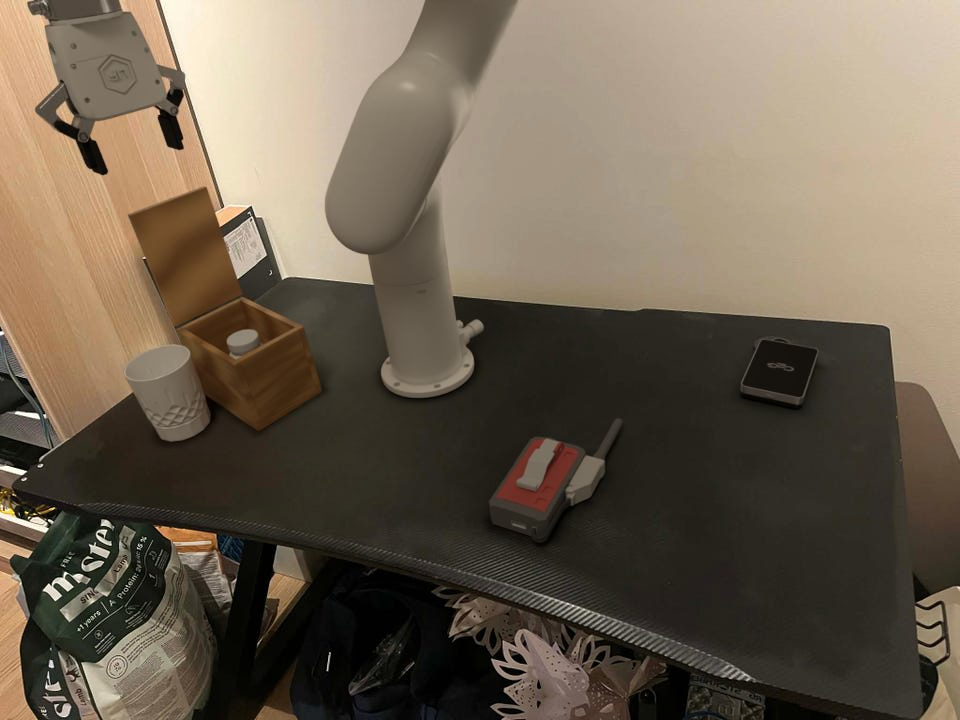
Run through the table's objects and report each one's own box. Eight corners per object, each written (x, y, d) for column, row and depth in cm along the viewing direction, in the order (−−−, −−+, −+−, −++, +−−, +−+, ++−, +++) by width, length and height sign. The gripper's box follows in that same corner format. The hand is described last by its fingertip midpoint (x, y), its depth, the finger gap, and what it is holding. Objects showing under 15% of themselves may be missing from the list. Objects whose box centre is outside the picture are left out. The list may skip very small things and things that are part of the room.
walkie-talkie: (562, 558, 68) (629, 431, 82) (559, 526, 65) (629, 400, 79) (481, 531, 72) (558, 414, 86) (476, 500, 69) (556, 385, 83)
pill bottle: (246, 404, 93) (226, 351, 89) (239, 387, 97) (220, 335, 92) (281, 392, 95) (264, 339, 90) (273, 375, 98) (256, 323, 94)
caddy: (322, 391, 95) (303, 326, 89) (258, 431, 89) (233, 364, 84) (263, 358, 104) (242, 296, 98) (201, 392, 98) (175, 329, 93)
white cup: (195, 446, 88) (167, 381, 83) (140, 443, 90) (109, 379, 84) (226, 407, 95) (202, 344, 89) (174, 405, 96) (147, 343, 91)
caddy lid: (206, 186, 89) (185, 179, 93) (130, 215, 84) (110, 206, 87) (242, 294, 98) (222, 284, 101) (175, 327, 92) (155, 315, 95)
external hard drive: (817, 362, 89) (819, 348, 88) (800, 413, 81) (802, 399, 80) (759, 351, 92) (760, 338, 91) (737, 399, 84) (739, 386, 83)
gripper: (10, 21, 70) (81, 189, 79) (172, -9, 80) (218, 143, 89) (-15, 19, 74) (55, 178, 84) (141, -9, 84) (188, 135, 94)
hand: (139, 160), depth 86 cm, fingers open, 9 cm apart
